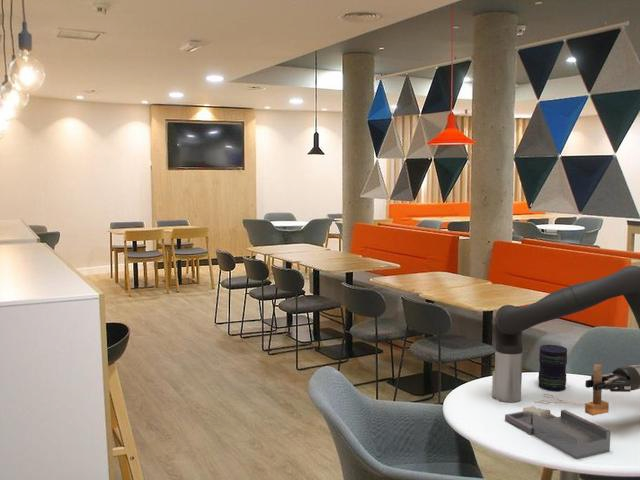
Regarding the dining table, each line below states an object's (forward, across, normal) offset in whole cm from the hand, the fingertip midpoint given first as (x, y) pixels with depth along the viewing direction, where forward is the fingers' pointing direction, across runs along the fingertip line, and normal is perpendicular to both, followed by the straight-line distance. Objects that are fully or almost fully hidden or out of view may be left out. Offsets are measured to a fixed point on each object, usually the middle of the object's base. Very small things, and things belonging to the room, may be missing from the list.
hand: (590, 385), depth 193 cm
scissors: (-12, -22, +16) cm, 30 cm away
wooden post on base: (-3, 0, +9) cm, 9 cm away
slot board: (+11, +3, +15) cm, 19 cm away
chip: (+11, -8, +13) cm, 19 cm away
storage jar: (-19, -37, +15) cm, 44 cm away
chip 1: (+11, -11, +12) cm, 20 cm away
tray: (+11, -12, +15) cm, 22 cm away
